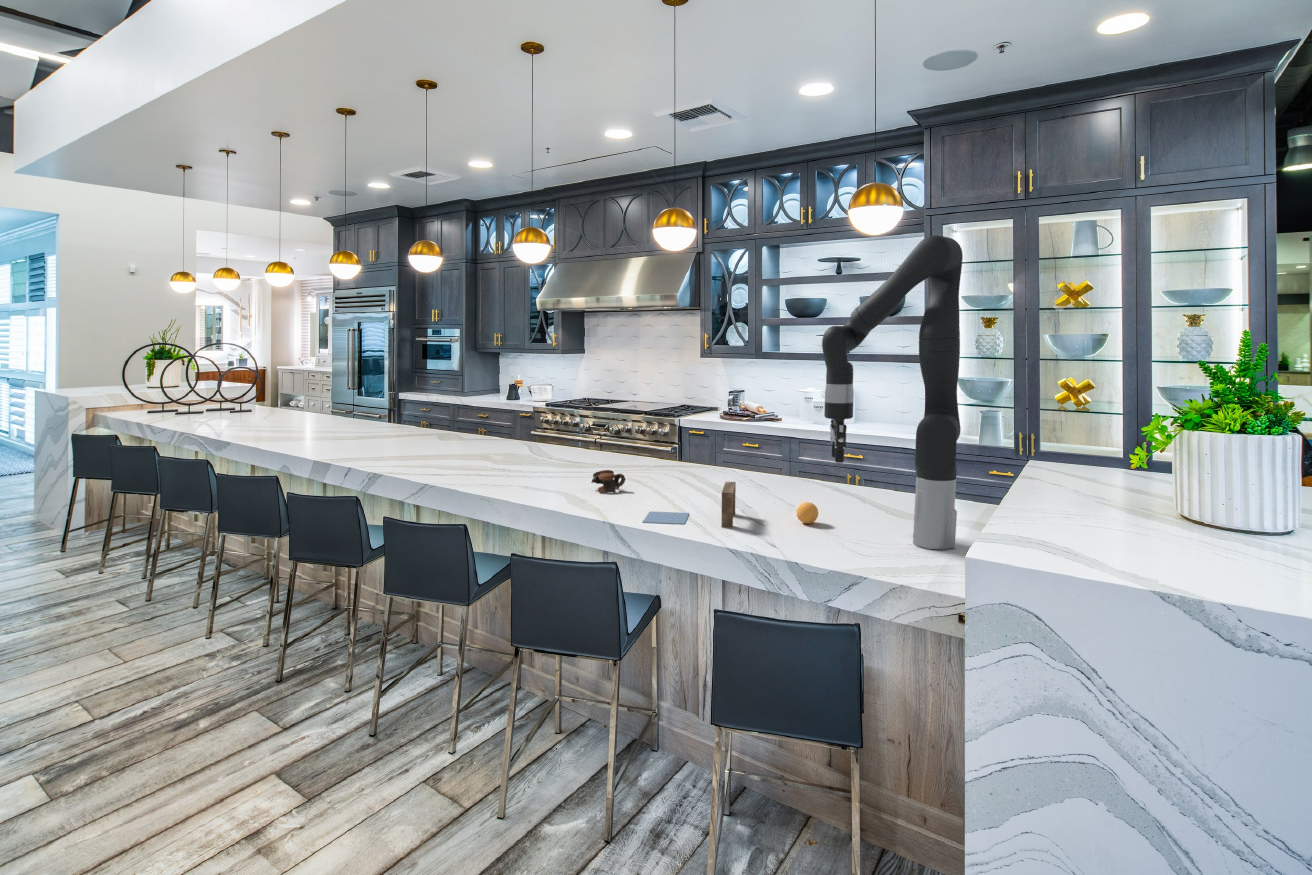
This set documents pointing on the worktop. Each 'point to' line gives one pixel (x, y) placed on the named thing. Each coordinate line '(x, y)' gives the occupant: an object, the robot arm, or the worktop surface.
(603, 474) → the pottery mug
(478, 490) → the worktop surface
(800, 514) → the ball
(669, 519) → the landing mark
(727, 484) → the bridge
